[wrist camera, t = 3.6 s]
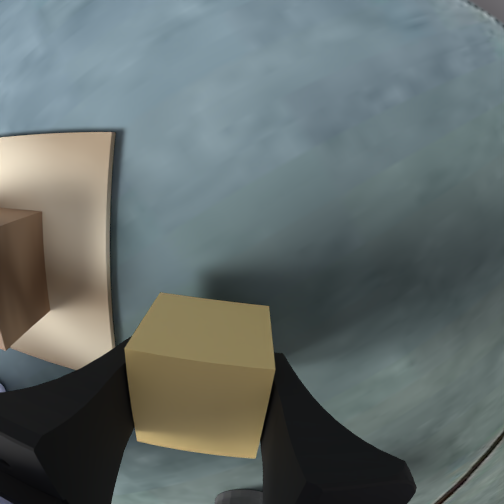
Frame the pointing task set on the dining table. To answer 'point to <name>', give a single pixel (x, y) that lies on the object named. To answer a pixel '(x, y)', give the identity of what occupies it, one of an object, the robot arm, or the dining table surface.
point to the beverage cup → (240, 497)
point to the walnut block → (21, 273)
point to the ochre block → (201, 375)
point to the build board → (66, 238)
